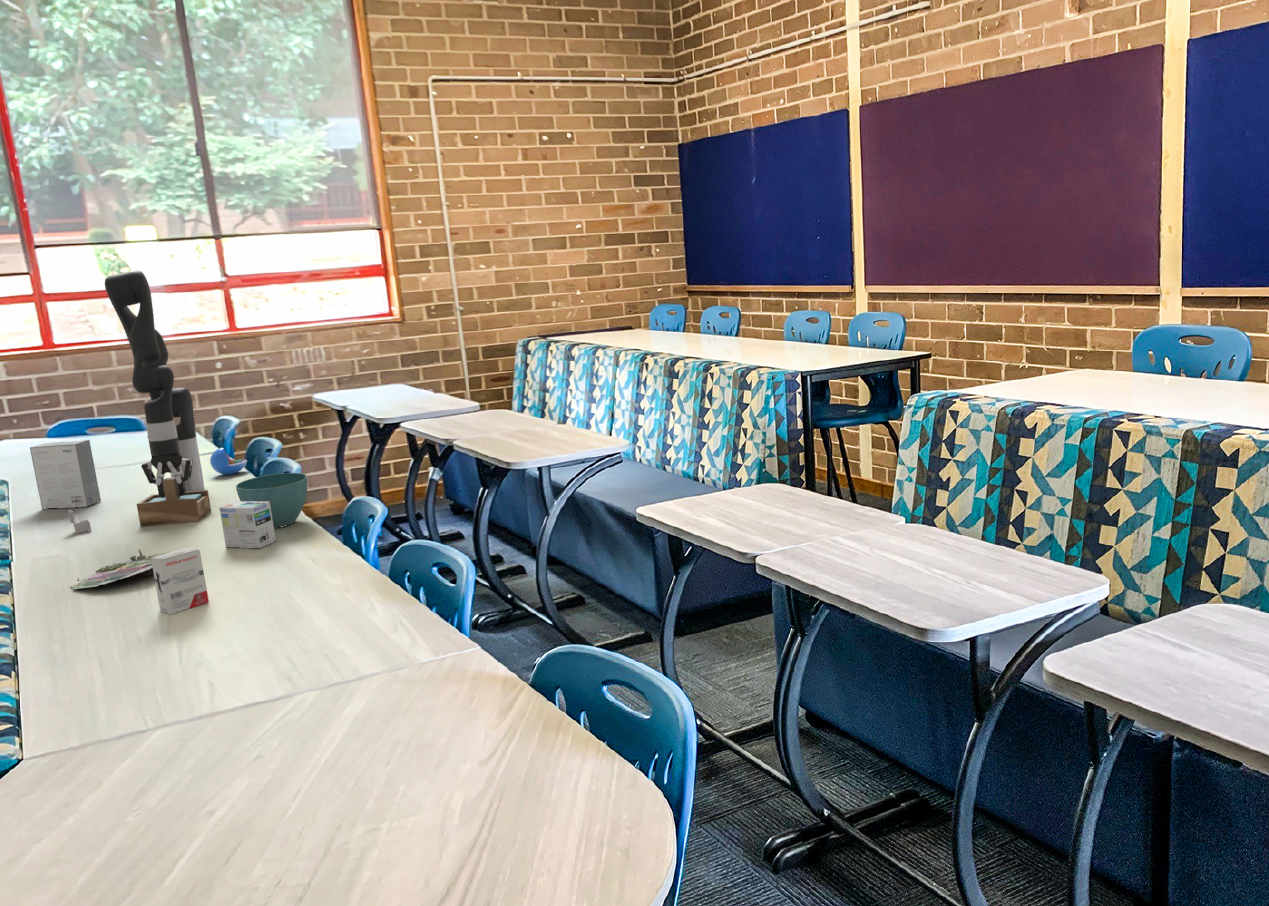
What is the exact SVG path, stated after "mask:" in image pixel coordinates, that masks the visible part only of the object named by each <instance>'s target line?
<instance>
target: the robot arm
mask: <svg viewBox="0 0 1269 906" xmlns="http://www.w3.org/2000/svg"><path fill="white" fill-rule="evenodd" d="M104 288H105V292H106V293H107V297H108V299H109V300H110V303H111V304H112V305H111V306H113V308H114V311H115V313H116V315H117V317H118V319H119V321H120V323H121V325H122V327H123V329H124V333H125V335H126V337H127V340H128V344H129V346H130V349H131V353H132V356H133V357H132V358H133V369H132V379H131V381H132V386H133V388H134V389H135V391H137V392H138V393H139V394H148V395H149V398H150V400H149V401H147V402H146V403H144V406H143V407H144V408H143V409H144V415H145V422H146V434H147V439H148V444H149V452H150V455H151V458H150V461H148V462H144V463H142V464H141V465H140V466H141V469H142V470H143V472H144V475H145V477H146V478H147V481H148V483H149V484H153V485H156V487H157V492H158V493H157V494H159V496H161V498H165V492H164V486H163V480H164V479H165V476H166V474H167V473H169V474H170V478H172V477H175V478H176V480H177V482H178V484H177V485H178V491H179V496H183V495H184V493H186V492H189V491H200V490H203V489H204V490H206V488H205V483H204V477H203V471H202V465H201V464H202V463H201V457H200V452H199V451H200V450H199V445H198V440H197V432H196V423H195V415H194V404H193V396H192V393H191V391H190V390H189V388H188V387H174V383H175V374H174V372H173V370H172V369H171V367H169V366H168V365H167V364H168V360H169V351H168V349H167V346H166V342H165V340H164V338H163V336H162V334H161V333H160V332H159V331H158V329H157V330H156V329H155V328H156V327H155V319H154V316H155V315H154V308H153V300H152V292H151V287H150V284H149V282H148V280H147V277H146V275H145V274H144V273H143V271H141V270H132V271H127V272H121V273H119V274H113V275H109V276H107V277H106V278H105V279H104ZM138 304H139V308H138V309H139V310H138V313H137V315H135V313H133V311H132V310H131V309H130V308H129V306H133V305H138ZM175 418H179V423H178V424H177V425H176V424H175ZM153 467H154V468H155V469H156V475H155V474H154V471H153V470H152V469H153Z"/></svg>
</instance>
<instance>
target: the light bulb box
mask: <svg viewBox="0 0 1269 906" xmlns="http://www.w3.org/2000/svg"><path fill="white" fill-rule="evenodd" d="M219 513H220V519H221V525H222V531H223V539H224V543H225V548H226V547H240V548H239V549H249V548H260V547H262V548H264V547H267V546H269V545H271V544H273V542H274V541H276V542H277V539H276V538H277V537H276V533H275V528H274V526H273V520H272V513H271V507H270V502H269V501H267V502H254V501H250V502H241V501H240V500H239V501H238V500H236V501H233V502H231V503H228V504H224V505H222V506H219ZM270 543H271V544H270ZM274 543H275V542H274ZM266 545H267V546H266ZM260 549H261V548H260Z"/></svg>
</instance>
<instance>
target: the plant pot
mask: <svg viewBox="0 0 1269 906" xmlns="http://www.w3.org/2000/svg"><path fill="white" fill-rule="evenodd" d="M235 488H236V489H235V490H236V493H237V496H238V498H239V502H250V501H254V502H267V501H269V502H270V507H271V513H272V520H273V526H274V529H277V528H276V527H281V526H285V525H288V524H291V525H293V524H294V523H295V522H296V521H297V519H298V517H300V516H299V515H300V514H301V512H302V510H303V508H304V506H305V502H306V500H307V493H308V476H307V474H306V473H305V474H304V473H301V472H284V473H272V474H267V475H262V476H258V477H253V478H252V477H251V478H249V479H247V480H242V481H241V482H238V483H237V484H236V485H235ZM293 522H294V523H293ZM292 523H293V524H292ZM285 527H286V526H285ZM281 528H282V527H281Z"/></svg>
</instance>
